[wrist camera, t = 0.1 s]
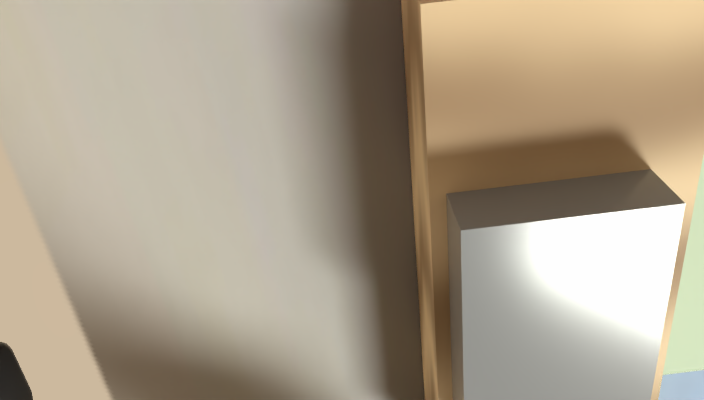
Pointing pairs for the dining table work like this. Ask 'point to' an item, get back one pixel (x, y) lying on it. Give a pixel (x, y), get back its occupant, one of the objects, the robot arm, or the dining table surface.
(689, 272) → the mat
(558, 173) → the deck
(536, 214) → the pale grey box
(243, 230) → the dining table surface
